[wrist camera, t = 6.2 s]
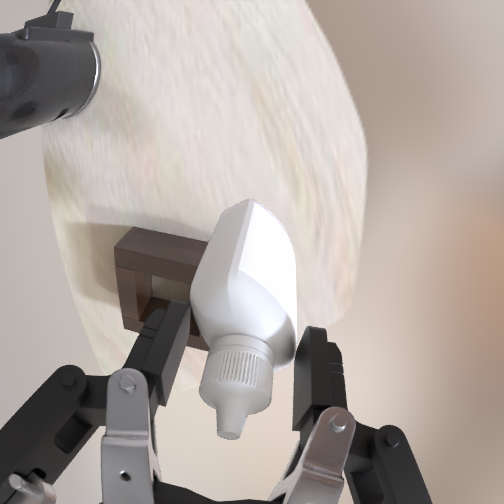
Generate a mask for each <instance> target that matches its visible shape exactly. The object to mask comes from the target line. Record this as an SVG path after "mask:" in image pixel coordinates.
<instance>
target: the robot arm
mask: <svg viewBox="0 0 504 504" xmlns="http://www.w3.org/2000/svg"><path fill="white" fill-rule="evenodd" d="M60 2H61V0H54V2H53V4H52V6H51V8H50V9H49V11H48V13H47V15H44V16H41V17H38V18H35V19H33V20H29V21H27V22H25V26H24V28H23V29H20V30H17V31H15V32H12V33H4V34H0V139H3V138H5V137H8V136H10V135H13V134H16V133H18V132H21V131H24V130H27V129H30V128H33V127H36V126H39V125H42V124H45V123H48V122H51V123H50V124H48V125H51V124H53V123H55V122H57V121H58V120H60V119H65V118H69V117H72V116H74V115H76V114H78V113H79V112H81V111H82V110H83V109H84V108H85V107H86V106H87V105H88V103H89V102H90V101H91V99H92V97H93V96H94V94H95V91H96V89H97V86H98V83H99V79H100V72H101V62H100V56H99V52H98V50H97V48H96V46H95V44H94V43H93V36H94V33H93V32H86V31H78V30H71V25H72V20H73V15H74V13H69V12H63V11H58V12H55V11H56V9H57V7H58V5H59V3H60ZM52 121H53V122H52ZM48 125H46V126H48ZM190 308H191V304H190V303H189V302H184V301H180V300H176V299H172V300H171V302H170V304H169V306H168V308H167V310H162V309H158V308H157V309H156V310H155V311H154V312H152V313H151V314H150V315H149V316H148V317H147V319H146V321H145V323H144V325H143V328H142V329H141V331H140V333H139V336H138V337H137V339H136V341H135V344H134V346H133V348H132V350H131V352H130V354H129V356H128V358H127V360H126V362H125V364H124V366H123V367H122V368H121V369H119V370H117V371H115V372H114V373H113V374H112V375H108V376H91V375H85V373H84V372H83V370H82V369H81V368H79V367H77V366H74V365H65V366H62V367H60V368H58V369H57V370H56V371H55V372H54V373H53V374H52V375H51V376H50V377H49V378H48V380H46V381H45V382H44V383H43V384H42V386H41V387H40V388H39V389H38V390H37V391H36V392H35V393H34V394H33V395H32V396H31V397H30V398H29V399H28V400H27V401H26V402H25V403H24V404H23V406H22V407H21V408H20V409H19V410H18V411H17V412H16V413H15V414H14V415H13V416H12V417H11V419H10V420H9V421H8V422H7V423H6V424H5V425H4V426H3V427H2V429H1V430H0V504H55V503H56V493H55V490H54V488H53V487H52V485H53V484H54V482H55V481H56V480H57V479H58V477H59V476H60V475H61V474H62V472H63V471H64V470H65V469H66V467H67V466H68V465H69V463H70V462H71V461H72V460H73V459H74V457H75V456H76V455H77V453H78V452H79V451H80V450H81V448H82V447H83V446H84V445H85V443H86V442H87V441H88V440H89V438H90V437H91V436H92V435H93V434H94V432H95V431H96V430H97V429H98V427H99V426H106V432H105V435H103V436H102V439H101V482H102V500H103V502H101V503H99V504H337V503H338V501H339V498H340V495H341V493H342V489H343V487H344V478H343V477H342V471H343V470H344V473H345V476H346V479H347V483H348V486H349V489H350V492H351V495H352V498H353V501H354V504H432V501H431V499H430V496H429V494H428V491H427V488H426V485H425V483H424V480H423V478H422V475H421V473H420V470H419V468H418V465H417V463H416V460H415V458H414V455H413V453H412V451H411V448H410V446H409V443H408V441H407V439H406V437H405V435H404V433H403V431H402V430H401V429H399V428H398V427H396V426H393V425H385V426H383V427H381V428H380V429H375V428H372V427H369V426H366V425H363V424H361V423H359V422H357V421H356V420H355V419H354V417H353V415H352V414H351V413H350V412H349V411H348V409H347V400H346V390H345V380H344V375H343V373H344V372H343V366H342V364H343V363H342V355H341V352H340V350H339V348H338V347H337V345H336V343H332V342H327V332H326V329H324V328H318V327H312V326H307V327H306V329H305V331H304V334H303V336H302V338H301V341H300V343H299V345H298V348H297V350H296V354H295V361H294V396H293V426H292V430H293V431H300V440H299V441H298V442H297V444H296V447H295V449H294V451H293V453H292V456H291V458H290V460H289V462H288V464H287V466H286V469H285V471H284V473H283V475H282V477H281V479H280V481H279V482H278V484H277V485H276V487H275V488H274V490H273V491H272V493H271V495H270V496H269V498H268V500H267V501H262V500H252V499H247V500H236V501H223V502H222V501H221V502H218V501H214V500H211V499H209V498H206V497H204V496H202V495H199V494H197V493H195V492H193V491H191V490H189V489H187V488H182V487H179V486H175V485H171V484H167V483H164V482H162V478H161V471H160V465H159V461H158V451H157V441H156V428H155V414H156V411H157V408H158V405H161V406H166V404H167V401H168V398H169V395H170V392H171V389H172V386H173V382H174V379H175V376H176V373H177V370H178V367H179V364H180V361H181V358H182V355H183V352H184V349H185V347H186V344H187V340H188V336H189V330H190Z"/></svg>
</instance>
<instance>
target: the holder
mask: <svg viewBox="0 0 504 504" xmlns="http://www.w3.org/2000/svg"><path fill="white" fill-rule="evenodd" d="M207 245H208V242H203V241H199V240H194V239H189V238H184V237H180V236H175V235H170V234H165V233H161V232H156V231H151V230H146V229H141V228H137V227H132V228H131V229H130V230H129V231H128V233H127V234H126V235H125V236H124V237H123V238H122V239H121V240H120V241H119V242H118V243H117V244H116V246H115V247H114V255H115V265H116V275H117V284H118V292H119V299H120V306H121V312H122V319H123V325H124V329H127V330H131V331H134V332H137V333H140V331H141V329H142V328H143V325H144V323H145V321H146V319H147V317H148V316H149V315H150V314H151V313H152V312H154V311H155V310H156V309H157V308H158V309H162V310H167V308H168V306H169V304H170V302H171V301H167V300H163V299H159V298H155V297H152V283H151V275H156V276H160V277H164V278H168V279H172V280H176V281H181V282H185V283H189V284H192V282H193V279H194V277H195V274H196V271H197V269H198V266H199V264H200V262H201V259H202V257H203V255H204V252H205V250H206V248H207ZM186 346H188V347H192V348H196V349H200V350H205V351H209V349H210V348H209V346H208V345H207V343H206V342H205V340H204V338H203V336H202V335H201V333H200V331H199V328H198V326H197V324H196V321H195V318H194V315H193V311H192V307H191V308H190V330H189V336H188V340H187V344H186Z"/></svg>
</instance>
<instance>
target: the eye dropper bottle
mask: <svg viewBox="0 0 504 504" xmlns="http://www.w3.org/2000/svg"><path fill="white" fill-rule="evenodd" d="M190 302H191V307H192V311H193V315H194V318H195V321H196V324H197V326H198V328H199V331H200V333H201V335H202V336H203V338H204V340H205V342H206V343H207V345H208V346H209V348H210V349H209V353H208V356H207V360H206V364H205V368H204V372H203V376H202V380H201V383H200V387H199V394H200V396H201V398H202V399H203V401H204V402H205V403H206V404H207V405H209V406H210V407H212V408H214V409H216V412H217V435H218V436H220V437H221V438H224V439H229V440H235V439H238V438H239V437H240V435H241V432H242V430H243V427H244V424H245V422H246V419H247V417H248V415H250V414H256V413H258V412H261V411H263V410H264V409H266V408H267V407H268V406H269V405H270V403H271V397H272V384H273V372H274V371H277V370H279V369H283V368H285V367H286V366H288V365H289V364H291V362H292V361H293V359H294V357H295V353H296V340H297V310H296V269H295V257H294V251H293V247H292V244H291V241H290V239H289V236H288V234H287V232H286V230H285V229H284V227H283V226H282V224H281V223H280V221H279V220H278V219H277V218H276V217H275V216H274V214H273V213H272V212H271V211H270V210H268V209H267V208H266V207H265V206H264V205H262V204H261V203H259V202H258V201H256V200H253V199H248V200H244V201H242V202H240V203H238V204H236V205H234V206H232V207H230V208H228V209H226V210H225V211H224V212H223V213H222V214H221V216H220V218H219V221H218V223H217V225H216V227H215V229H214V232H213V234H212V236H211V238H210V241H209V243H208V245H207V248H206V250H205V252H204V255H203V257H202V259H201V262H200V264H199V266H198V269H197V271H196V274H195V277H194V279H193V282H192V285H191V290H190Z"/></svg>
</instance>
